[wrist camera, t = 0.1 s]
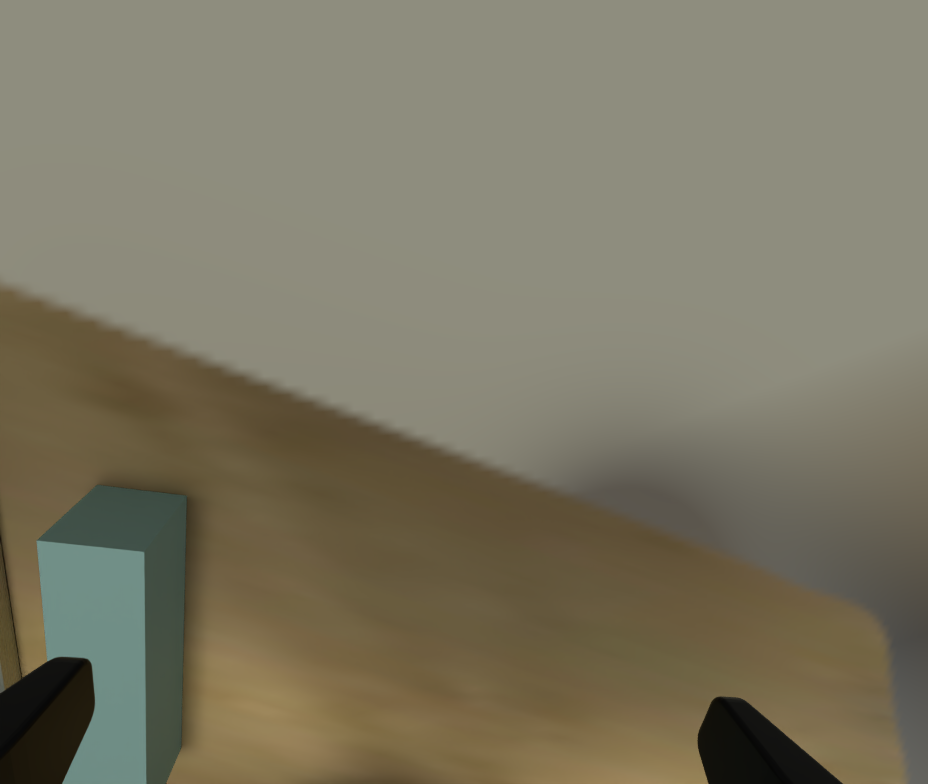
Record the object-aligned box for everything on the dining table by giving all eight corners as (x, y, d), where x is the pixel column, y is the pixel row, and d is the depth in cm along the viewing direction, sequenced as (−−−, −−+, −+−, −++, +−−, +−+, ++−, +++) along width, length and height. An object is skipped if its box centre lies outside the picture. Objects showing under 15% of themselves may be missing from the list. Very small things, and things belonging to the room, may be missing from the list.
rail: (183, 742, 28) (146, 828, 24) (110, 738, 27) (61, 825, 24) (189, 492, 23) (144, 551, 19) (100, 481, 22) (36, 540, 19)
